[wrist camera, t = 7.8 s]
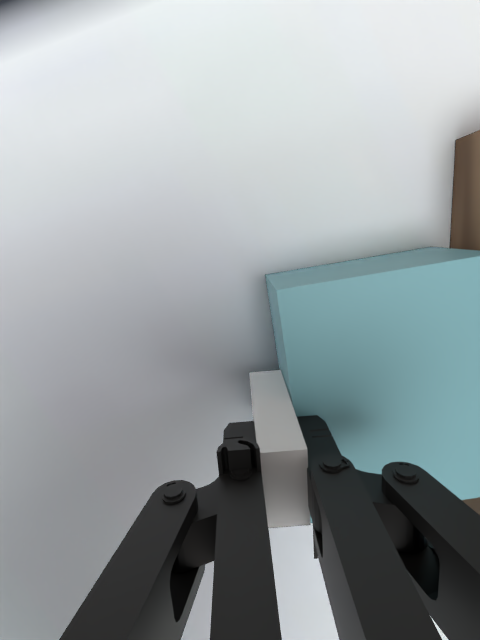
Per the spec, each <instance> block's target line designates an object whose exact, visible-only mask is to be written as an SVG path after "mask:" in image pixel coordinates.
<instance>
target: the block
mask: <svg viewBox="0 0 480 640" xmlns="http://www.w3.org/2000/svg"><path fill="white" fill-rule="evenodd" d="M265 277H266V284H267V290H268V297H269V304H270V310H271V317H272V323H273V330H274V337H275V343H276V350H277V357H278V363H279V370H281V372H282V375H283V378H284V381H285V384H286V387H287V390H288V393H289V396H290V399H291V402H292V405H293V408H294V411H295V414H296V417H300V416H312V415H318V416H319V417H320V418H322V419H323V420H324V421H325V422H326V424H327V426H328V428H329V430H330V432H331V434H332V436H333V438H334V440H335V442H336V444H337V447H338V449H339V451H340V453H341V455H342V456H344V457H346V458H347V459H349V460H350V461H351V462H352V464H353V465H354V467H355V469H357V470H360V471H364V472H368V473H376V474H382V468H383V467H384V466H385V465H386V464H389V463H391V462H399V461H400V462H408V463H411V464H414V465H417V466H419V467H421V468H422V469H424V470H425V471H426V472H428V473H429V474H430V475H431V476H433V477H434V478H435V479H436V480H437V481H439V482H440V483H441V484H442V485H444V486H445V487H446V488H447V489H448V490H450V491H451V492H452V493H453V494H455V495H456V496H457V497H458V498H459V499H461V500H465V499H472V498H478V497H480V251H478V250H465V249H453V248H440V247H427V248H421V249H415V250H409V251H403V252H397V253H391V254H385V255H379V256H373V257H368V258H362V259H356V260H350V261H344V262H338V263H332V264H326V265H320V266H314V267H308V268H302V269H296V270H290V271H284V272H278V273H273V274H267V275H265ZM310 523H313V522H312V518H311V515H310Z"/></svg>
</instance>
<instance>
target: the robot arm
mask: <svg viewBox="0 0 480 640" xmlns="http://www.w3.org/2000/svg"><path fill="white" fill-rule="evenodd" d="M249 376H250V388H251V401H252V414H253V421H249V422H237V423H229V424H228V426H227V427H226V428H225V430H224V440H223V444H221V445H220V446H219V447H218V450H217V459H218V469H219V477H218V478H217V479H216V480H215V481H214V482H212V483H211V484H209V485H207V486H204V487H201V488H198V489H195V487H194V485H193V484H191V483H190V482H187V481H183V480H177V481H171V482H168V483H165V484H163V485H162V486H160V487H158V488H157V489H156V490H155V491H154V493H153V494H152V495H151V497H150V499H149V500H148V502H147V503H146V505H145V506H144V508H143V510H142V511H141V513H140V514H139V516H138V517H137V519H136V520H135V522H134V524H133V525H132V527H131V528H130V530H129V531H128V533H127V535H126V536H125V538H124V539H123V541H122V542H121V544H120V545H119V547H118V549H117V550H116V552H115V553H114V555H113V556H112V558H111V560H110V561H109V563H108V564H107V566H106V567H105V569H104V571H103V572H102V574H101V575H100V577H99V578H98V580H97V581H96V583H95V585H94V586H93V588H92V589H91V591H90V592H89V594H88V596H87V597H86V599H85V600H84V602H83V603H82V605H81V607H80V608H79V610H78V611H77V613H76V614H75V616H74V617H73V619H72V621H71V622H70V624H69V625H68V627H67V628H66V630H65V632H64V633H63V635H62V636H61V638H60V639H59V640H181V637H182V634H183V631H184V628H185V625H186V622H187V619H188V617H189V614H190V611H191V608H192V605H193V602H194V599H195V596H196V594H197V591H198V588H199V585H200V582H201V579H202V576H203V573H204V570H205V564H207V563H209V562H212V561H214V578H213V596H212V614H211V632H210V640H282V639H281V631H280V622H279V614H278V606H277V597H276V589H275V581H274V572H273V564H272V556H271V547H270V539H269V530H268V528H277V527H289V526H302V525H310V515H311V518H312V522H313V539H314V559H316V558H319V562H320V566H321V569H322V573H323V577H324V581H325V585H326V589H327V593H328V597H329V601H330V605H331V609H332V612H333V616H334V620H335V624H336V628H337V632H338V636H339V640H442V639H441V637H440V635H439V633H438V631H437V629H436V627H435V625H434V623H433V621H432V619H431V617H432V618H433V620H434V621H435V622H436V624H437V625H438V626H439V628H440V629H441V630H442V632H443V633H444V634H445V635H446V637H447V638H448V639H449V640H480V515H479V514H478V513H476V512H475V511H474V510H473V509H472V508H470V507H469V506H468V505H467V504H465V503H464V502H463V501H462V500H461V499H459V498H458V497H457V496H456V495H455V494H453V493H452V492H451V491H450V490H448V489H447V488H446V487H445V486H444V485H442V484H441V483H440V482H439V481H437V480H436V479H435V478H434V477H433V476H431V475H430V474H429V473H428V472H426V471H425V470H424V469H422V468H421V467H419V466H417V465H414V464H411V463H408V462H400V461H399V462H391V463H389V464H386V465H385V466H384V467H383V468H382V474H376V473H368V472H364V471H360V470H357V469H355V467H354V465H353V464H352V462H351V461H350V460H349V459H347V458H346V457H344V456H342V455H341V453H340V451H339V449H338V447H337V444H336V442H335V440H334V438H333V436H332V434H331V432H330V430H329V428H328V426H327V424H326V422H325V421H324V420H323V419H322V418H320V417H319V416H318V415H312V416H300V417H296V414H295V411H294V408H293V405H292V402H291V399H290V396H289V393H288V390H287V387H286V384H285V381H284V378H283V375H282V372H281V370H272V371H260V372H249ZM430 616H431V617H430Z"/></svg>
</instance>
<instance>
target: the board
mask: <svg viewBox="0 0 480 640" xmlns="http://www.w3.org/2000/svg"><path fill="white" fill-rule="evenodd" d="M450 248H453V249H465V250H478V251H480V130H479V131H477V132H474V133H472V134H469V135H467V136H465V137H462V138H460V139H457V140H456V147H455V165H454V184H453V202H452V221H451V239H450ZM462 501H463V502H464V503H465V504H467V505H468V506H469V507H470V508H472V509H473V510H474V511H475V512H476V513H478V514H479V515H480V497H478V498H472V499H465V500H462Z"/></svg>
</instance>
